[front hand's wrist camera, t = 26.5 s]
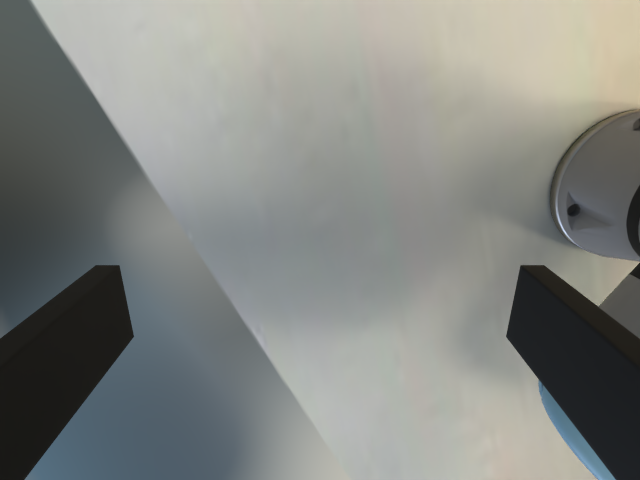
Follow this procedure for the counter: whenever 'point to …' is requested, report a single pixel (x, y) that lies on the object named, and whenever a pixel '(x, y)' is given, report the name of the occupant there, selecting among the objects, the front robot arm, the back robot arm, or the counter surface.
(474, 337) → the counter surface
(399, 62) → the counter surface
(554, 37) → the counter surface
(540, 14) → the counter surface
